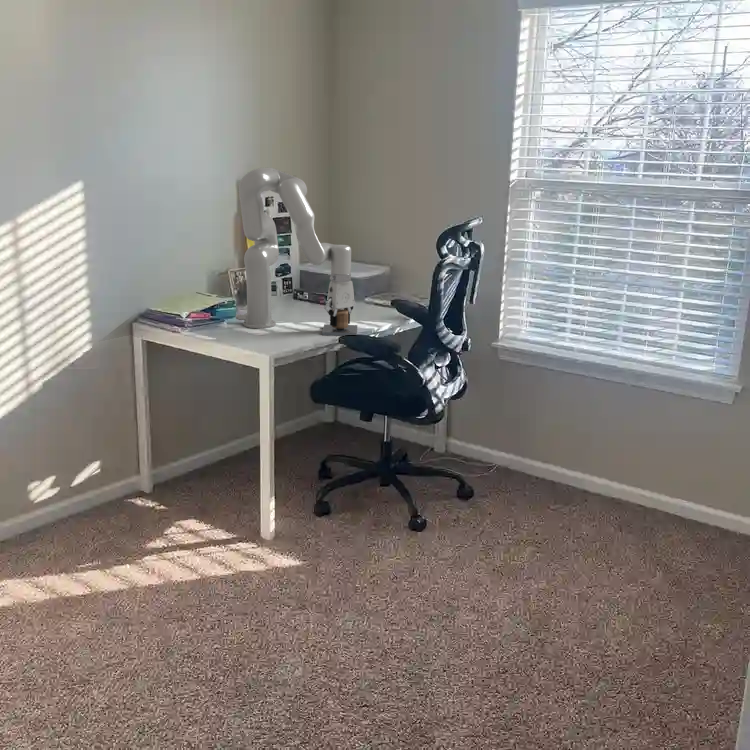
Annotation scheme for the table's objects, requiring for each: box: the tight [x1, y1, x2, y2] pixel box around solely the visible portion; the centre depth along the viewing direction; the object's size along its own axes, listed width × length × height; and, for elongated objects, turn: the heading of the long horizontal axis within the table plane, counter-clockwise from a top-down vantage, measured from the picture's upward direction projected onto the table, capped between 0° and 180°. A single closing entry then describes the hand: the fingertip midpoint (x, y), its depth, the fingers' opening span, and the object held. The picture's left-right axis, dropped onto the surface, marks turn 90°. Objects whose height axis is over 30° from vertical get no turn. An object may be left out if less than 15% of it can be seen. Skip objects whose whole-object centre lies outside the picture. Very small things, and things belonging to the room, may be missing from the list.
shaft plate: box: [321, 323, 358, 337], centre depth 316 cm, size 13×13×6 cm
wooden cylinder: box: [332, 308, 349, 328], centre depth 315 cm, size 6×6×6 cm
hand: (340, 324), depth 316 cm, fingers closed on wooden cylinder, 6 cm apart
